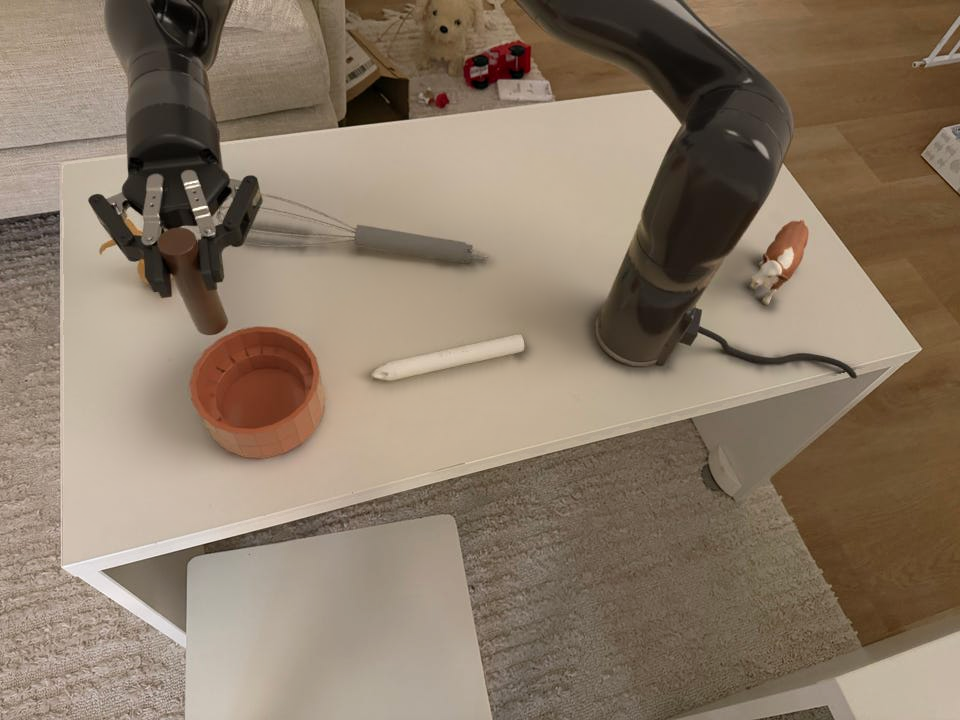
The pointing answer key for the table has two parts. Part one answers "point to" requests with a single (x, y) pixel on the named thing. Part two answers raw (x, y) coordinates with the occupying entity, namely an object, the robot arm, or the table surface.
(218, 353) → the bowl
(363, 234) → the kitchen whisk
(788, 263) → the bull figurine
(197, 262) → the stirring stick
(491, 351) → the marker
